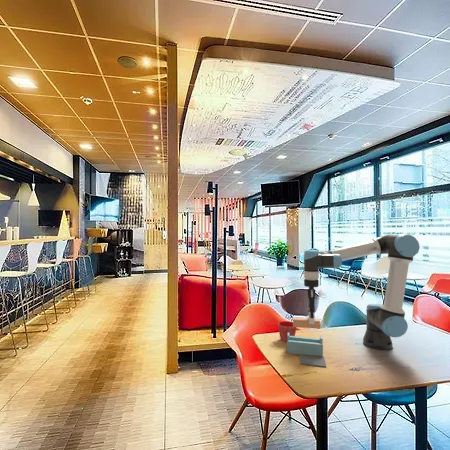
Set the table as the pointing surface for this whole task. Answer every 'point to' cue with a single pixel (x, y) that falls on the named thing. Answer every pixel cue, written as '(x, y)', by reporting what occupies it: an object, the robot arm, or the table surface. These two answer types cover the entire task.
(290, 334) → the flower pot
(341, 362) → the table surface
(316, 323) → the bar
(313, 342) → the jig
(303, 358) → the mat
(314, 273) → the robot arm
